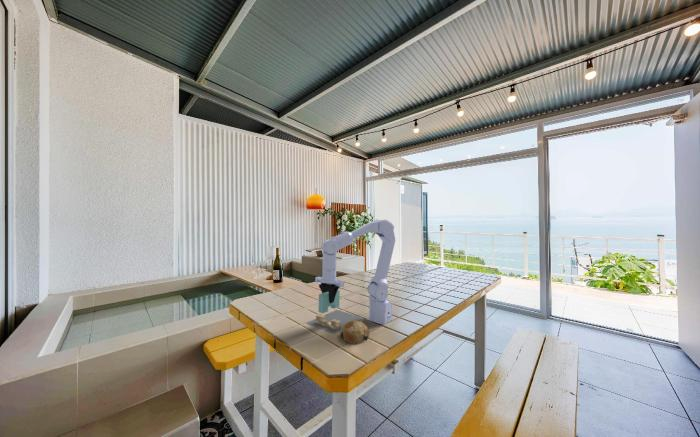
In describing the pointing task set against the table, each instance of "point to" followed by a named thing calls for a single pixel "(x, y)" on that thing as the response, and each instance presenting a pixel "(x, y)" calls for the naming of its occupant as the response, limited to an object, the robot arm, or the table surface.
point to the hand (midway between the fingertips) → (329, 301)
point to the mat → (336, 315)
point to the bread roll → (355, 332)
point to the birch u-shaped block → (328, 322)
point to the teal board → (327, 302)
